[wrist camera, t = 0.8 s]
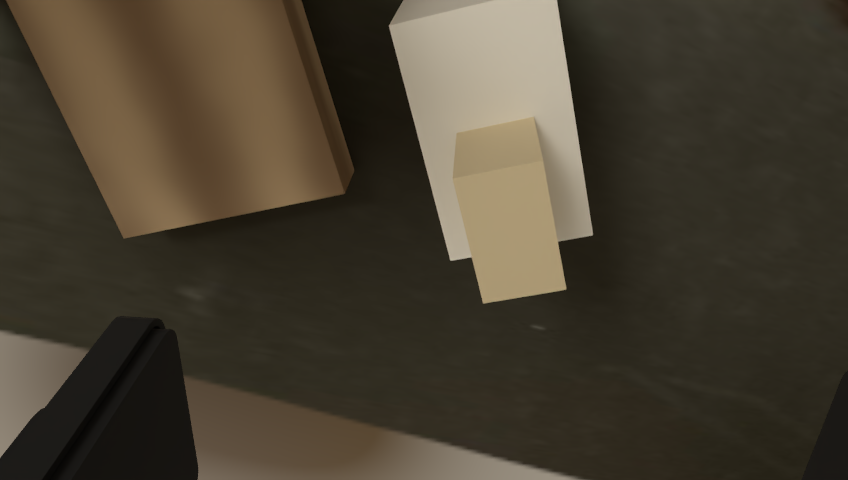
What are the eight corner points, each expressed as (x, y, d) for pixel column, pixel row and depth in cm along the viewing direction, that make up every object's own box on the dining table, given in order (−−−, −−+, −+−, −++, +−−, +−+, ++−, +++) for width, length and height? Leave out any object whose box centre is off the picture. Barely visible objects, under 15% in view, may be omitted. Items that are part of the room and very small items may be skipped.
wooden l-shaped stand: (319, -175, 30) (13, -251, 10) (409, 158, 36) (329, 494, 17) (-47, -66, 33) (-813, 36, 13) (99, 223, 39) (-268, 568, 20)
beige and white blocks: (538, -42, 31) (569, 8, 20) (571, 162, 36) (611, 294, 25) (408, -10, 33) (372, 55, 22) (456, 185, 37) (445, 321, 26)
